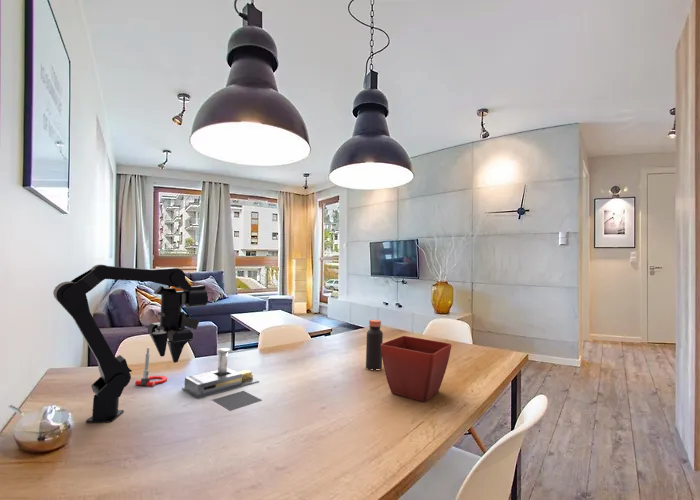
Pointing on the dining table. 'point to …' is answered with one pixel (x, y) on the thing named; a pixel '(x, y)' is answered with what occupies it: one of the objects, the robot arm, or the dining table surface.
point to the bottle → (374, 345)
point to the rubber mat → (236, 400)
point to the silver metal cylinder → (222, 361)
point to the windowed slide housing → (217, 382)
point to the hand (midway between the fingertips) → (168, 359)
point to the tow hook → (146, 380)
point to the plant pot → (415, 366)
